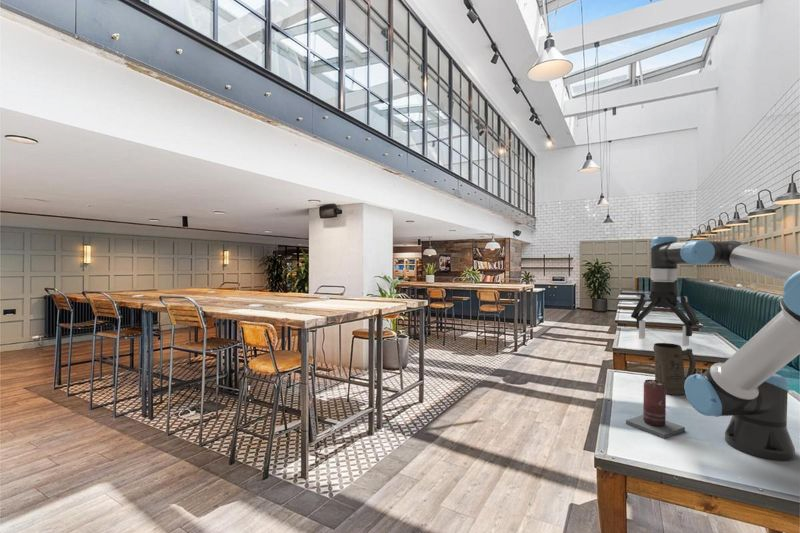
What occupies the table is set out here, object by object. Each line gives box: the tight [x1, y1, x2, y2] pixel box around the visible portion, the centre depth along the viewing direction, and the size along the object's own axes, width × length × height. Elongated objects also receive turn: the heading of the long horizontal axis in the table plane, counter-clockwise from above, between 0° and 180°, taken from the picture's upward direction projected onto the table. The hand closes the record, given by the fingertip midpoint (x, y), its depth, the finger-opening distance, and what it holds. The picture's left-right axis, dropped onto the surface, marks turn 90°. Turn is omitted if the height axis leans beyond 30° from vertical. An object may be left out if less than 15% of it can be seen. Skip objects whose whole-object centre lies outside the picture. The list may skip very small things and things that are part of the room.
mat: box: [625, 414, 686, 439], centre depth 125 cm, size 12×12×1 cm
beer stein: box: [653, 342, 697, 396], centre depth 159 cm, size 15×11×20 cm
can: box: [642, 379, 667, 427], centre depth 125 cm, size 6×6×14 cm
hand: (662, 341), depth 130 cm, fingers open, 13 cm apart
